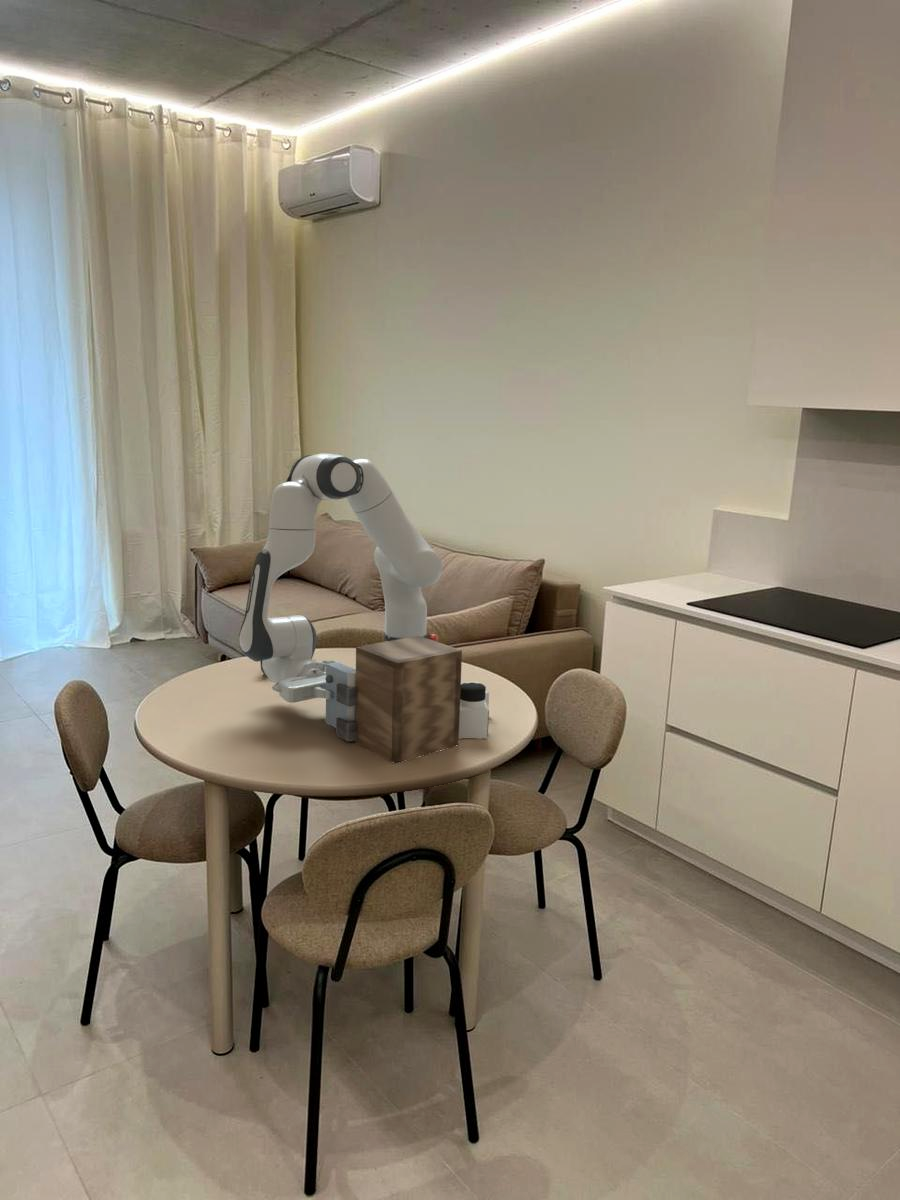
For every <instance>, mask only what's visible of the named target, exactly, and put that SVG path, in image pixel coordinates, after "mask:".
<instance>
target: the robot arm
mask: <svg viewBox="0 0 900 1200" xmlns="http://www.w3.org/2000/svg"><path fill="white" fill-rule="evenodd" d="M271 496H272V497H271V502H270V509H269V518H268V520H269V521H268V534H267V535H268V536H267V539H266V542H265V545H264V547H263V548H262V550H261V551H259V552H258V553H257V554H256V556H255V558H254V562H253V565H252V566H253V567H252V571H251V575H250V581H249V588H248V594H247V599H246V600H247V601H246V605H245V612H244V617H243V621H242V624H241V627H240V630H239V634H238V645H239V648H240V650H241V653H243V654H244V656H246V657H247V658H248V659H250V660H251V661H253V662H258V663H259V662H260V661H262V667H263V670H264V672H265V673H264V675H266V676H267V678H268V679H269V680H270V681H272V682H273V683H274V685H272V687H271V689H272V690H273V691H274V692H277V693H278V695H279V697H280V698H282V699H283V700H284V701H285V702H287V703H299V702H302V701H308V700H312V699H325V700H326V699H333V698H334V691H332V690H330V689H329V690H326V680H325V678H326V664H328V663H334V662H339V663H341V662H340V661H339V660H318V659H313V658H314V653H315V651H316V648H317V647H316V646H317V643H318V642H317V641H318V640H317V639H318V638H317V631H316V628H315V627H314V624H313V623H312V622H311V621H310V619H309V618H307V617H306V616H305V615H303V614H298V615H297V614H295V615H283V616H279V617H275V616H274V617H268V615H269V614H268V613H269V608H270V602H271V596H272V589H273V586H274V583H275V582H276V580H277V579H278V578H280V576H282V575H283V574H285V573H286V572H288V571H291V570H293V569H294V568H297V567H298V566H300V565H302V564H303V563H305V562H306V561H308V559H310V557H311V556H312V554H313V553H314V550H315V546H316V541H317V539H316V529H317V527H316V523H317V521H316V520H317V519H316V514H317V509H318V507H319V505H320V503H321V502H322V501H323V500H324V501H325V500H344V499H346V500H347V501H348V504H349V505H350V507H351V509H352V511H353V512H354V514H355V516H356V517H357V519H358V522H359V523H360V525H361V527H362V528H363V530H364V531H365V534H366V535H367V537H368V538H369V539H370V540H371V541H372V542H373V543H374V544H375V545H376V548H375V549H374V552H373V561H374V564H375V567H376V568H377V570H378V572H379V573H378V574H379V578H380V583H381V587H382V588H381V589H382V593H383V599H384V616H385V617H384V632H383V635H382V638H383V639H382V642H387V641H392V640H398V639H403V638H409V637H415V636H421V637H424V638H427V639H430V640H433V641H436V642H438V641H439V639H440V638H439V635H438V634H434V633H431V634H430V633H428V632H427V627H428V626H427V621H428V619H427V617H428V606H427V602H426V600H425V597H424V595H423V591H422V588H427V587H431V586H433V585H434V584H436V583H437V582H438V581H439V579H440V578H441V575H442V573H443V562H442V559H441V556H440V555H439V554H438V553H437V552H435V550H434V549H433V548H432V547H431V546H430V545H429V543H428V542H427V541H426V539H425V538H424V537H423V535H422V534H421V533H420V531H418V529H417V528H416V527H415V525H414V524H413V522H411V520H410V519H409V517H408V516H407V514H406V512H405V511H404V510H403V507H402V506H401V504H400V503H399V500H398V498H397V497H396V495H395V493H394V492H393V489H392V488H391V486H390V485H389V483H388V481H387V479H386V478H385V477H384V475H383V474H382V473H381V471H380V470H379V468H378V467H377V465H375V464H374V463H373V462H372V460H370V459H367V458H357V459H354V460H352V459H351V458H349V457H347V456H345V455H343V454H338V453H335V454H334V453H325V452H324V453H323V452H322V453H317V454H308V455H304V456H302V457H299V459H297V460H296V461H295V462H294V463H293V465H292V466H291V469H290V471H289V475H288V477H287V478H286V481H285V482H282V483H280V484H279V485H277V486H275V488H274V490H273V492H272V495H271Z"/></svg>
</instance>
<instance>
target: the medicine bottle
mask: <svg viewBox="0 0 900 1200" xmlns="http://www.w3.org/2000/svg"><path fill="white" fill-rule="evenodd" d="M486 687H487V686H485V684H483V683H481V682H478V681H466V682H463V683H461V690H460V717H459V740H463V739H462V738H487V739H488V738H489V720H490V719H489V718H490V716H489V715H490V709H489V705H488V706H487V704H486V701H485V694H486V691H487V690H486V689H487V688H486Z"/></svg>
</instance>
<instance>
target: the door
mask: <svg viewBox="0 0 900 1200" xmlns="http://www.w3.org/2000/svg"><path fill="white" fill-rule="evenodd" d="M339 662H340V661H339ZM339 662H334V663H328V664H326V678H325V680H326V690H329V689H330V690H332V691H334V698H333V699H326V698H325V723H327V724H328V725H329V726H332V727H334V728H336V718H339V717H340V718H342V719H344V720H346V721H348V722H353V721H355V706H350V707H348V706H346V705H344V704H342V703H340V702H338V701H336V699H337V684H338V683H340V684H343V685H345V686H347V687H349V688H351V687H356V668H353V667H350V666H348V665H346V664H343V663H341V662H340V663H339Z"/></svg>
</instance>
